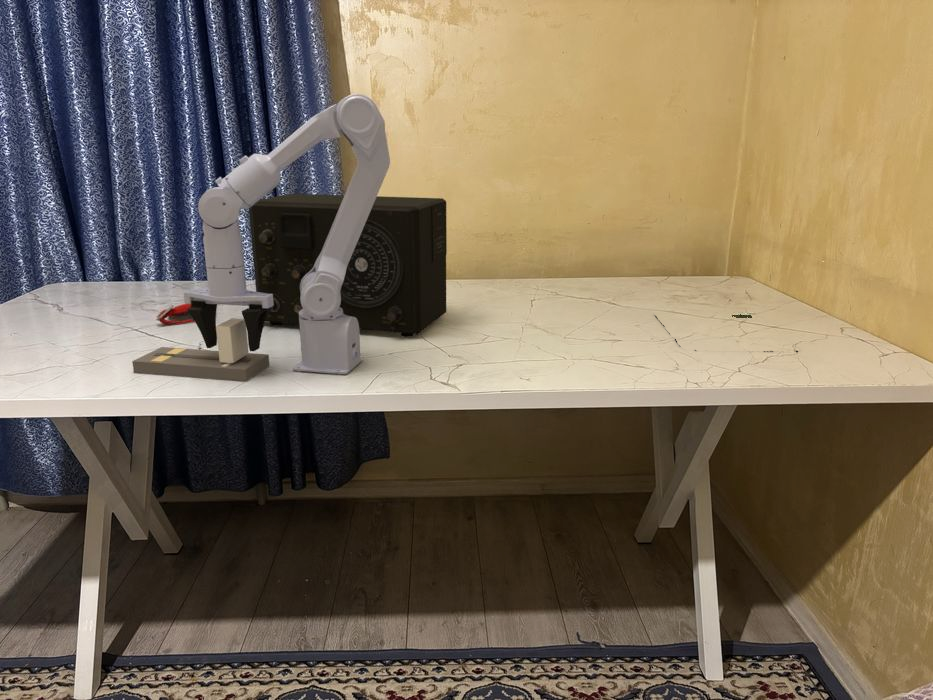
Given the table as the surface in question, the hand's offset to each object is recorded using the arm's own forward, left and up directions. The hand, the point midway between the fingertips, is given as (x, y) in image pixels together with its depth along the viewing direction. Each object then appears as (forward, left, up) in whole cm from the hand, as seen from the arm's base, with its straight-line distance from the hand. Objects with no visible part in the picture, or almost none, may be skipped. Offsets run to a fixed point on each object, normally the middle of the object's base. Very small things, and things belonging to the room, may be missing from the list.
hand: (233, 348), depth 116 cm
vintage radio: (-7, -33, -4) cm, 34 cm away
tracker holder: (+28, -28, -5) cm, 40 cm away
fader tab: (0, 0, -2) cm, 2 cm away
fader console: (+6, 0, -4) cm, 7 cm away
